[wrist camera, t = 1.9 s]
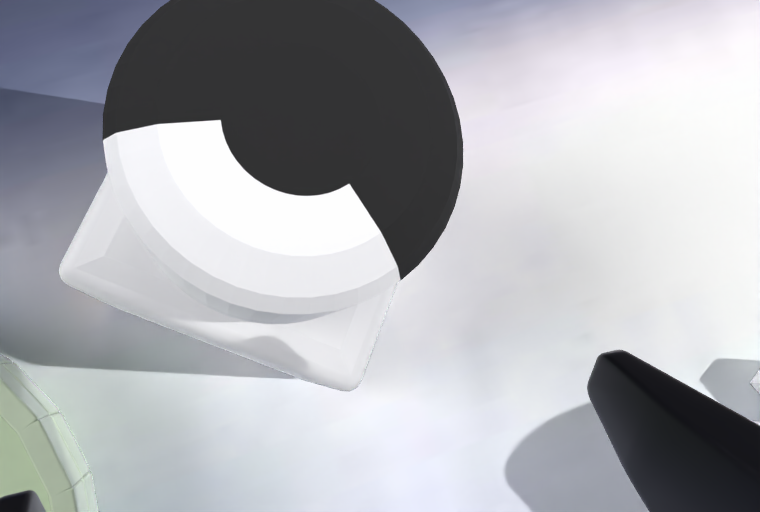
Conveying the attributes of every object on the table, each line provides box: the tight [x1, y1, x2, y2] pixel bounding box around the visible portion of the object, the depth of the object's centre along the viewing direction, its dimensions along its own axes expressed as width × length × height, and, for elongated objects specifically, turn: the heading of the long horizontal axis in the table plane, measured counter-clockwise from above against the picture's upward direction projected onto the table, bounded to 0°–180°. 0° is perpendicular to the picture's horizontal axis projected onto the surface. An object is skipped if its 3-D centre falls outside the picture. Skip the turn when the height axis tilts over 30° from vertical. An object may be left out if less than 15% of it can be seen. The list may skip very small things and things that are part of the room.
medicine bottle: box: [59, 0, 463, 391], centre depth 15 cm, size 7×7×12 cm
